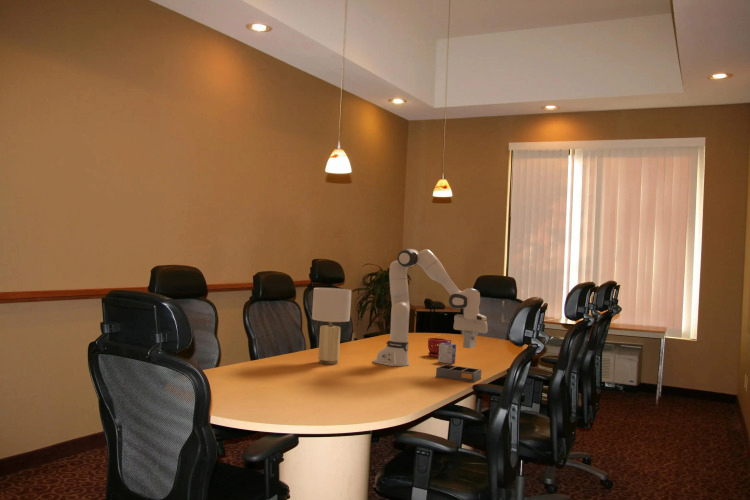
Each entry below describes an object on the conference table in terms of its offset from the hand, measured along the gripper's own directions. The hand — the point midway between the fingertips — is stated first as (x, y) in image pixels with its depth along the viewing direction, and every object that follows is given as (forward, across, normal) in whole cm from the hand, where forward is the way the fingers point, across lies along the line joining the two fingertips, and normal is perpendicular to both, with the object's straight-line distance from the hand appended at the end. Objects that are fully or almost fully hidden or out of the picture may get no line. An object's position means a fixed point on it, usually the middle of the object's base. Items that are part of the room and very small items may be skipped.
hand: (469, 339), depth 370 cm
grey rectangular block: (+5, 0, 0) cm, 5 cm away
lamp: (+22, -76, -32) cm, 86 cm away
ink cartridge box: (+20, -22, +24) cm, 38 cm away
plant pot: (+21, -36, +43) cm, 60 cm away
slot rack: (+20, 0, -17) cm, 26 cm away
